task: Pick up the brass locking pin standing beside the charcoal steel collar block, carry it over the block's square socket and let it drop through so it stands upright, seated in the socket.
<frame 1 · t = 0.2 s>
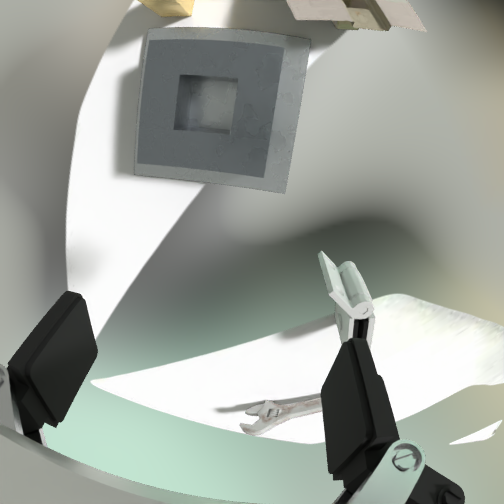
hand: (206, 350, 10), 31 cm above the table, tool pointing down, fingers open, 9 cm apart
collar block: (216, 104, 34), on the table
hinge: (338, 285, 45), on the table
brass pin: (178, 3, 27), on the table
wrench: (310, 394, 58), on the table
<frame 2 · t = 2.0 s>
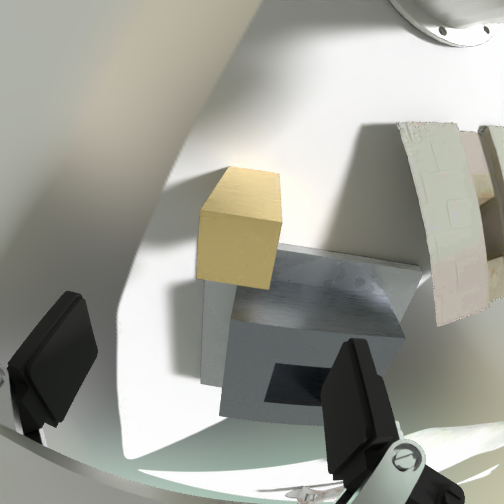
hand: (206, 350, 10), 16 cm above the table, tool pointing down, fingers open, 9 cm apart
collar block: (299, 333, 31), on the table
beige piece: (462, 191, 23), on the table
brass pin: (250, 193, 24), on the table
wrench: (341, 480, 56), on the table
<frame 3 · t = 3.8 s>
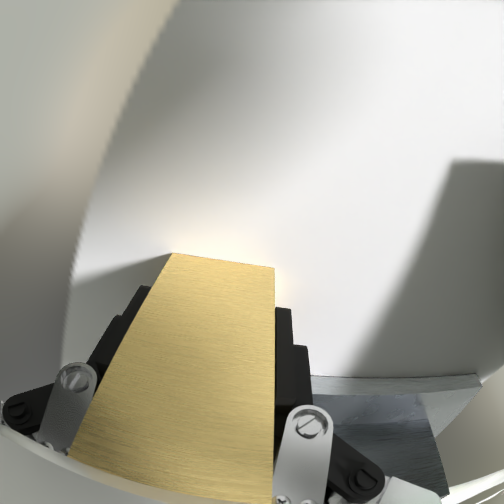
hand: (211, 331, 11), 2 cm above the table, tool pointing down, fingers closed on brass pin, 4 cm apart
collar block: (299, 453, 19), on the table
brass pin: (218, 301, 13), on the table, touching gripper
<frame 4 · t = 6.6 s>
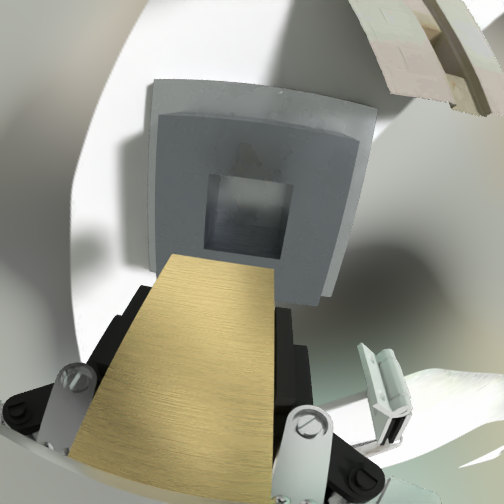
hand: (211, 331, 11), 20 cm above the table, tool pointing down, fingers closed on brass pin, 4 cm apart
collar block: (252, 190, 28), on the table
hinge: (374, 368, 40), on the table
beige piece: (411, 37, 20), on the table
brass pin: (218, 302, 13), point 18 cm above the table, touching gripper
wrench: (334, 447, 53), on the table
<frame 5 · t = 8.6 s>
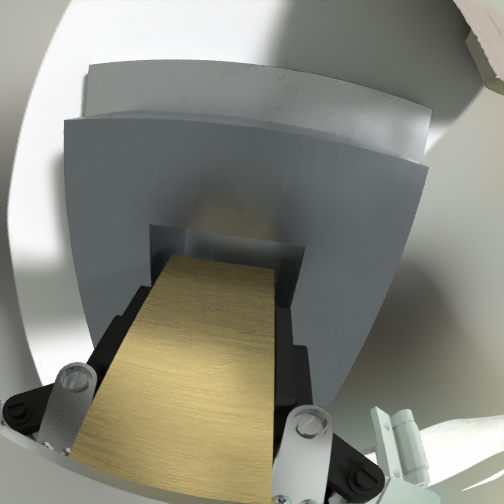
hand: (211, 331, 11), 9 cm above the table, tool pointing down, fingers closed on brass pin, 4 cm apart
collar block: (236, 230, 19), on the table
hinge: (386, 427, 30), on the table
beige piece: (471, 14, 11), on the table
brass pin: (218, 303, 13), point 7 cm above the table, touching gripper
when the fingers open (9 cm above the table, at t = 9.0 s): brass pin drops 6 cm, resting on collar block.
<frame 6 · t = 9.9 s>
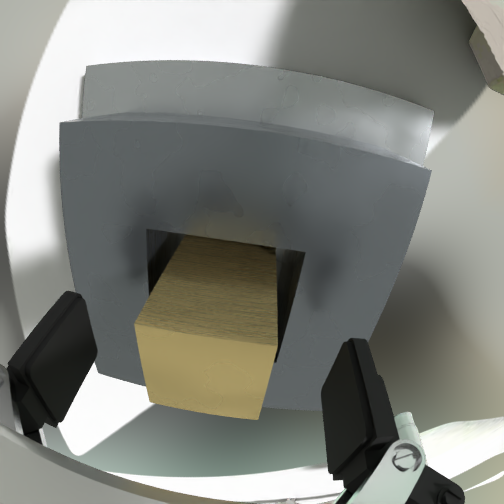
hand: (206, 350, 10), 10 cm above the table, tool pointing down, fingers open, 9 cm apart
collar block: (235, 234, 19), on the table
hinge: (386, 429, 30), on the table
beige piece: (474, 14, 11), on the table
brass pin: (235, 242, 18), point 1 cm above the table, touching collar block
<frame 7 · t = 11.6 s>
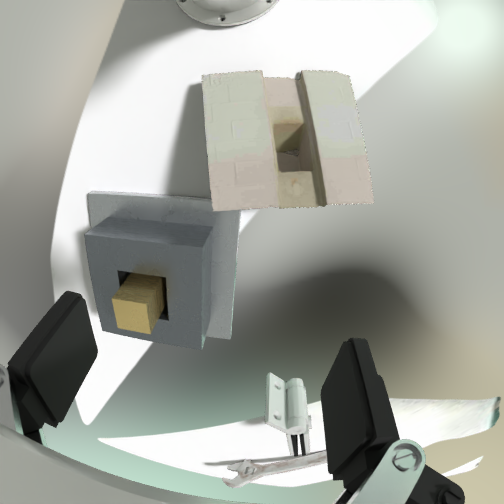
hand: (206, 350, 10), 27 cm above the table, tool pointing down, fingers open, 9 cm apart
collar block: (162, 267, 40), on the table
hinge: (289, 392, 49), on the table
beige piece: (284, 127, 32), on the table
brass pin: (160, 271, 38), point 1 cm above the table, touching collar block
wrench: (282, 456, 61), on the table
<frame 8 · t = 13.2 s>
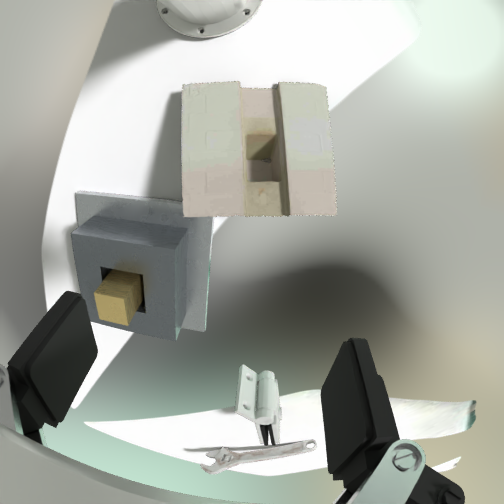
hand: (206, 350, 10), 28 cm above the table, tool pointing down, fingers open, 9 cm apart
collar block: (142, 262, 42), on the table
hinge: (262, 384, 53), on the table
beige piece: (259, 136, 33), on the table
brass pin: (140, 267, 41), point 1 cm above the table, touching collar block
wrench: (258, 445, 66), on the table
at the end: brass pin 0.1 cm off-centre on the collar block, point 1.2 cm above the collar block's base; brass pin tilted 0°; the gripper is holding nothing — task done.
